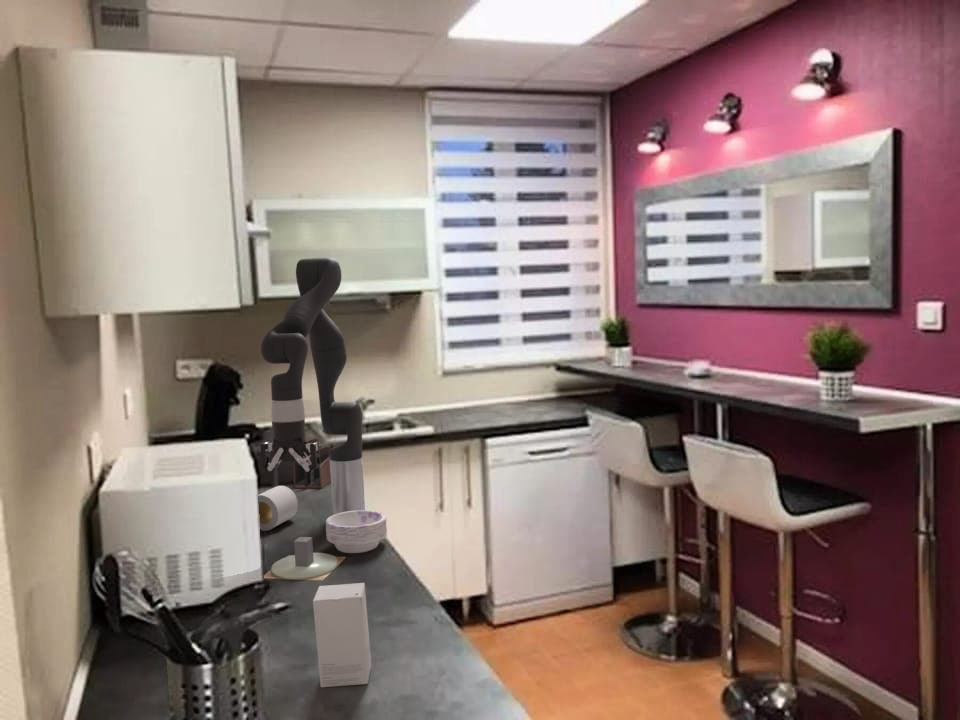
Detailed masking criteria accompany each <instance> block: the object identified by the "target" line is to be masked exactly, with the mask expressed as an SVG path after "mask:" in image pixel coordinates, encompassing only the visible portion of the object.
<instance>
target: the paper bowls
mask: <svg viewBox="0 0 960 720" xmlns="http://www.w3.org/2000/svg"><path fill="white" fill-rule="evenodd" d="M387 532H388V528H387V516H386V514H384V513H382V512H379V511H373V510H368V509H367V510H366V509H365V510H358V511H347V512H342V513H338V514H335V515H333V514H332V515H331V516H328V517H327V519H326V520H325V533H326V535H325V536H326V541H328V542H329V543H331V544H334V546H335V548H336V550H337V551H339V552H340V553H346V554H361V553H366V552H370V551H372V550H374V549H376V548H377V547H378V546H379V544H380V542H381V541H382V540H384V539H385V538H386V537H387V536H388V534H387Z"/></svg>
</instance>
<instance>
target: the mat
mask: <svg viewBox="0 0 960 720" xmlns="http://www.w3.org/2000/svg"><path fill="white" fill-rule="evenodd" d="M292 555H293V554H288V555H287V556H286V557H288V556H292ZM335 557H336V559H337V567H338V566H339V565H340V564H341V563H342V562H343V561H344V560H345V559H346V558H347V557H346V556H335ZM333 571H334V570H332V571H331V572H329V573H327V574H324V575H321V576H318V577H313V578H307V579H296V581H297V580H298V581H319V582H320V581H321V582H322V581H324V580H325V579H326V578H327V577H328V576H329V575H330V574H331V573H332V572H333ZM263 576H264V578H263V579H271V580H284V579H283V578H279V577H276V576H275V575H273V574H272V568H271V569H269V570H268V571H267V572H266V573H265V574H263ZM291 580H292V581H293V580H294V579H290V581H291Z"/></svg>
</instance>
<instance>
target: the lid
mask: <svg viewBox="0 0 960 720" xmlns="http://www.w3.org/2000/svg"><path fill="white" fill-rule="evenodd" d="M313 545H314V543H313V536H312V537H311V536H298V538H296V539H295V540H294V541H293V546H294V547H293V548H294V554H291V555H292V556H288V555H287V556H288V557H287V556H286V557H282V558H281V559H279V560H276V561H275V562H274V563H273V564H272V565H271V569H272V574H273V575H275V576H276V577H279V578H283V579H282V580H291V579H294V580H296V579H307V578H313V577H318V576H321V575H324V574H327V573H329V572H331V571H332V570H333V571H334V570H335V569H336V568H337V567H338V566H337V559H336V557H337V556H335V555H332V554H329V553H324V552H314V546H313ZM333 571H332V572H333ZM332 572H331V573H332ZM296 581H297V580H296Z"/></svg>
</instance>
